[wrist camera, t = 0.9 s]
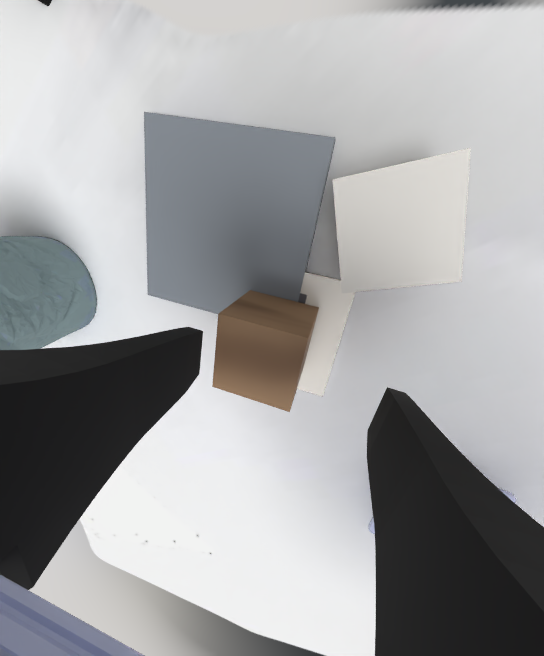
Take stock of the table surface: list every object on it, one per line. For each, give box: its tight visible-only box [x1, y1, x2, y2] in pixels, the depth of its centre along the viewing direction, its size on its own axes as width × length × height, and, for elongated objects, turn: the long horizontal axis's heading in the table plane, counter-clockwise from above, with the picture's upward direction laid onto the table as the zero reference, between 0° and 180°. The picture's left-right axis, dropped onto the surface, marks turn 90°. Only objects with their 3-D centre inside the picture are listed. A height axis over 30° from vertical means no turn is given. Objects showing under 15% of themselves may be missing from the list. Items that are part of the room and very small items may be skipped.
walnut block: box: [212, 290, 319, 412], centre depth 17 cm, size 5×5×5 cm
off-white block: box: [333, 148, 471, 293], centre depth 14 cm, size 5×5×5 cm
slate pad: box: [144, 112, 335, 314], centre depth 18 cm, size 12×12×1 cm
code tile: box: [297, 272, 356, 397], centre depth 20 cm, size 9×9×1 cm
